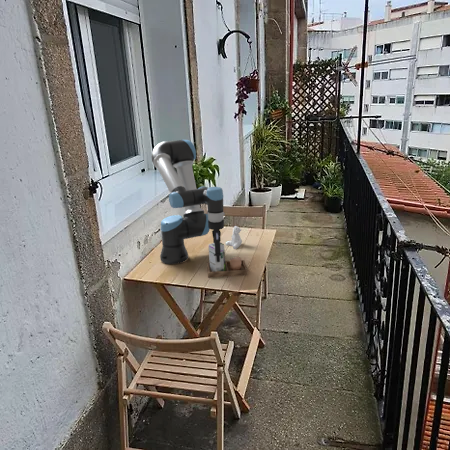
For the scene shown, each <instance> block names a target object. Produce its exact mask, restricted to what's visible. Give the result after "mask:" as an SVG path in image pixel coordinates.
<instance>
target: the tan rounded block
mask: <svg viewBox="0 0 450 450" xmlns="http://www.w3.org/2000/svg"><path fill="white" fill-rule="evenodd" d="M241 260H242V258H241V257H239V256H233V257H230V258H229V261H230V271H232V270H241Z"/></svg>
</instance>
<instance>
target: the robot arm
mask: <svg viewBox="0 0 450 450" xmlns="http://www.w3.org/2000/svg"><path fill="white" fill-rule="evenodd" d="M196 158H197V150H196V148H195V145H194V143H193V142H192V141H191V140H189V139H179V140H167V141H166V140H164V141H160V142H159V143H157V145H155V146H154V147H153V149H152V153H151V162H152V164H153V167H154V168H156V169H158V172H159V174H160V175H161V177H162V179H163V181H164V183H165V186H166V188H167V189H168V191H169V194H168V201H169V206H170V207H171V208H173V209H178V208H179V209H180V208H184V213H182V215H180V214H175V215H174V214H173V215H169V216H166V217H165V218H163V219H162V220H161V221H160V233H161V242H162V248H161V251H160V256H159V257H160V258H159V259H160V261H161V262H162V263H163V264H167V265H177V264H183V263H184V262H187V260H188V259H189V252H188V251H187V248H186V246H185V240H187V239H192V238H196V237H197V238H198V237H202V236H206V235H208V234H209V232H210V230H211V234H212V238H213V241H212V242H213V243H215V254H214V256H215V268H220V267H221V249H220V242H221V240H222V238H221V235H222V232H221V230H222V229H224V228H225V220H224V215H226V214H225V212H224V191H223V188H222V187H218V186H210V187H207V186H200V187H198V188H197V184H196V180H195V176H194V175H195V174H194V169H193V165H194V164H195V160H196ZM201 205H206V206H207V207H206V208H207V213H205V211H204V209H203V208H202V207H201Z"/></svg>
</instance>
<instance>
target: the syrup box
mask: <svg viewBox="0 0 450 450" xmlns="http://www.w3.org/2000/svg"><path fill="white" fill-rule="evenodd" d="M220 249H221V267H220V268H215V256H214V254H215V243H214V242H213V243H208V258H209V262H210V271H212V272H216V271H226V269H225V261H226V256H225V255H226V253H225V252H226V251H225V244H224V243H222V242H221V241H220Z"/></svg>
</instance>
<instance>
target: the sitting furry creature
mask: <svg viewBox="0 0 450 450" xmlns="http://www.w3.org/2000/svg"><path fill="white" fill-rule="evenodd" d="M241 231H242V229H241V228H240V227H239V226H237V225H234V226H233V228H232V235H231V239H230V240H228V241H225V246H231V247H232V248H233V250H236V249H238V248H239V247H240V246H241V245H242V244H243V240H242V239H241V235H240V232H241Z"/></svg>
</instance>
